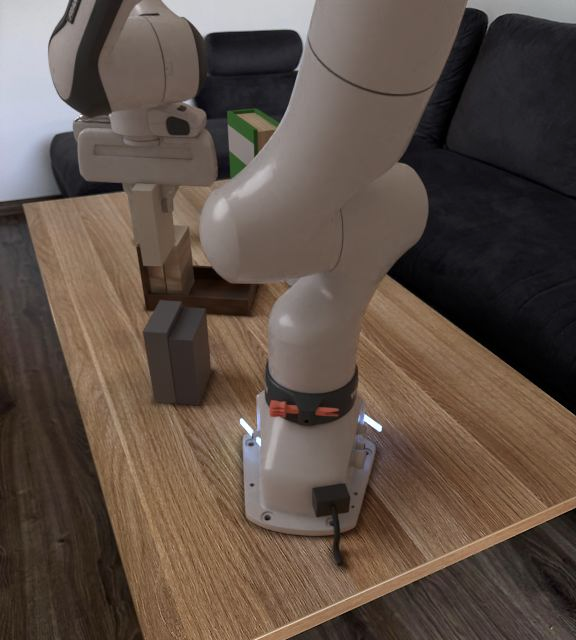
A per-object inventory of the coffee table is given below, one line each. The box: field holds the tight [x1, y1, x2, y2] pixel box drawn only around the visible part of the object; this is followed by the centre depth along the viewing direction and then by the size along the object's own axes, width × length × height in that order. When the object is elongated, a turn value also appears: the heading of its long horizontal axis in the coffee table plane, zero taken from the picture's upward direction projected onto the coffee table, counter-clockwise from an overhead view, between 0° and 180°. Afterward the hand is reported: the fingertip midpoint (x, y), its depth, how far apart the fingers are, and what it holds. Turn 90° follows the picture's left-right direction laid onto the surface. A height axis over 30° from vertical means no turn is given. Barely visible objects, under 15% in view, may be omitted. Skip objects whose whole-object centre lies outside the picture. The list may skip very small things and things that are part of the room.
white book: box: [131, 183, 176, 267], centre depth 92 cm, size 3×9×12 cm, turn 175°
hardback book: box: [226, 107, 280, 180], centre depth 142 cm, size 18×7×24 cm, turn 23°
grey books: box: [142, 300, 212, 406], centre depth 91 cm, size 7×9×13 cm
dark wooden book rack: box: [135, 224, 260, 317], centre depth 114 cm, size 20×13×13 cm, turn 84°
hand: (154, 210), depth 91 cm, fingers closed on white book, 3 cm apart
